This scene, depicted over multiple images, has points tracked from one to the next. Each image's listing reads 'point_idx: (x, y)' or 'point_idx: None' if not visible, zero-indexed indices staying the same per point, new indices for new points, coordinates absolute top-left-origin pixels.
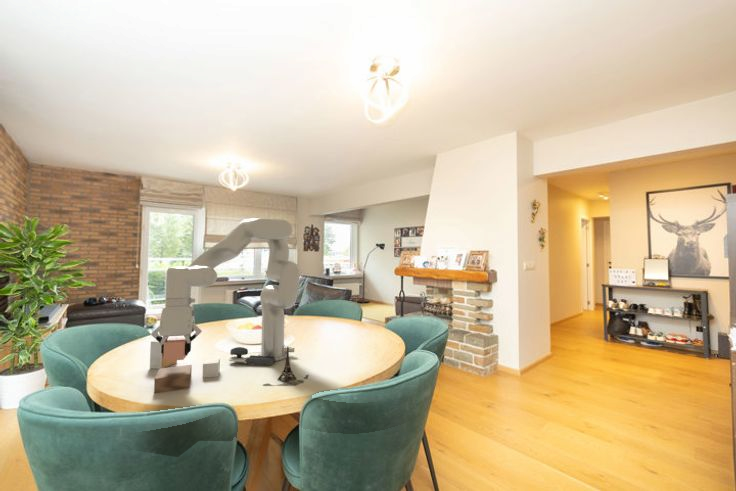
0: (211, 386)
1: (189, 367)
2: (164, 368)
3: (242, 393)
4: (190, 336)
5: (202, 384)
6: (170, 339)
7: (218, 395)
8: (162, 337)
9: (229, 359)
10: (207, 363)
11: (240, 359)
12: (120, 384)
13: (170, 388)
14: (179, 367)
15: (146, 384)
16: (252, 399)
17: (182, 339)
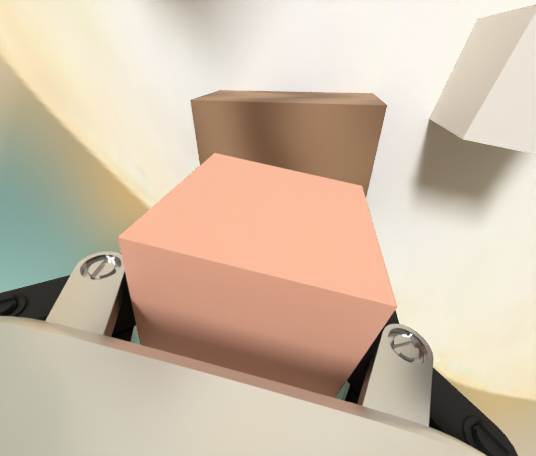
0: (427, 249)
1: (363, 163)
2: (220, 111)
3: (492, 341)
4: (413, 411)
5: (401, 213)
6: (156, 294)
7: (420, 320)
8: (43, 317)
9: None
10: (496, 141)
11: None
12: (56, 38)
13: None
14: (306, 132)
15: (174, 98)
16: (492, 377)
17: (304, 353)
